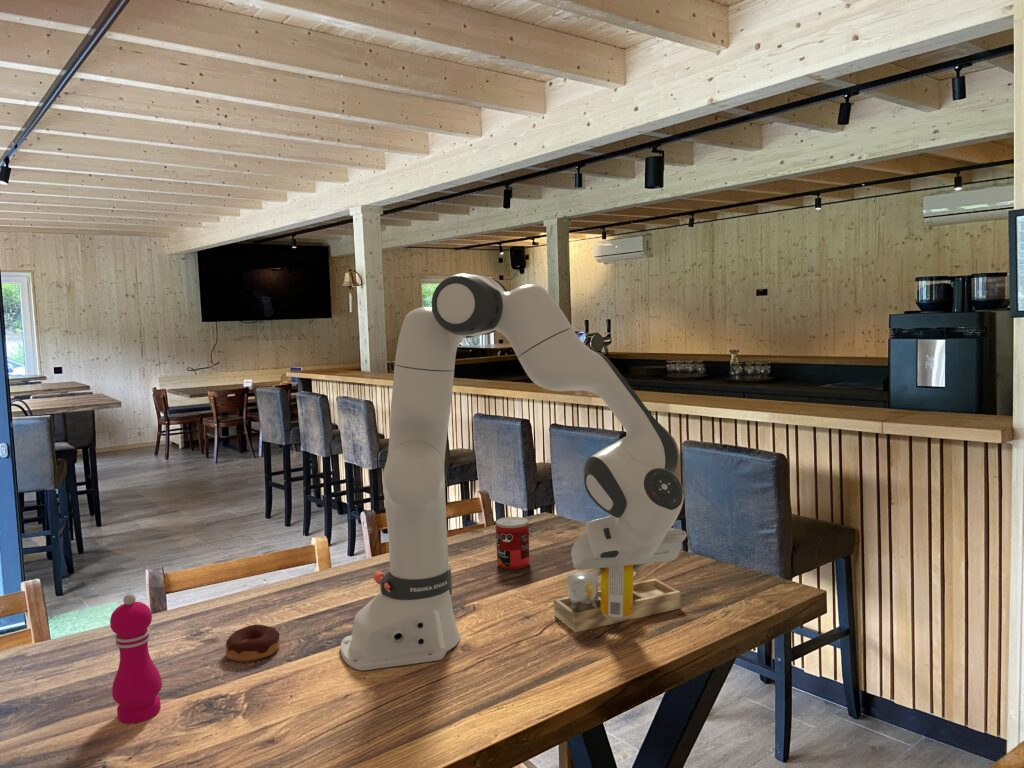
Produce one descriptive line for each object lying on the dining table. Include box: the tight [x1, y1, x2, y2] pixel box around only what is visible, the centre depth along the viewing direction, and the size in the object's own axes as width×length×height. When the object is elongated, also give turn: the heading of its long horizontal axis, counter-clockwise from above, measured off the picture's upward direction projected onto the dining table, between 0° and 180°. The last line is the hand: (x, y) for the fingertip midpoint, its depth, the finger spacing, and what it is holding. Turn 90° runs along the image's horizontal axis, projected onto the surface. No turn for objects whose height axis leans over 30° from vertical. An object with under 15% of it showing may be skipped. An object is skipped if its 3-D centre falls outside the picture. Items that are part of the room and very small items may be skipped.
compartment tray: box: [553, 578, 682, 633], centre depth 158 cm, size 25×9×4 cm, turn 114°
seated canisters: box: [567, 570, 599, 613], centre depth 156 cm, size 14×6×7 cm, turn 114°
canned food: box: [495, 516, 530, 570], centre depth 188 cm, size 8×8×11 cm
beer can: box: [600, 565, 634, 620], centre depth 147 cm, size 6×6×15 cm
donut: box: [225, 624, 281, 663], centre depth 145 cm, size 10×10×4 cm
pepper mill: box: [109, 593, 163, 724], centre depth 123 cm, size 7×7×20 cm
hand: (615, 569), depth 147 cm, fingers closed on beer can, 6 cm apart
